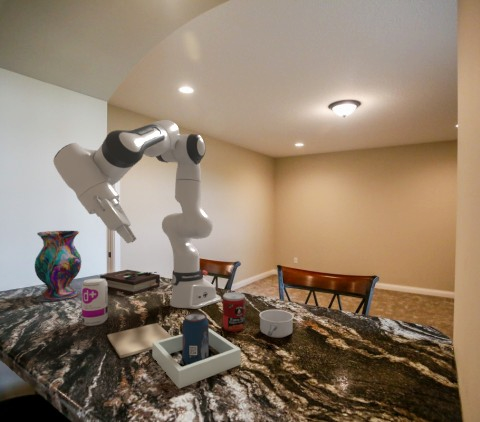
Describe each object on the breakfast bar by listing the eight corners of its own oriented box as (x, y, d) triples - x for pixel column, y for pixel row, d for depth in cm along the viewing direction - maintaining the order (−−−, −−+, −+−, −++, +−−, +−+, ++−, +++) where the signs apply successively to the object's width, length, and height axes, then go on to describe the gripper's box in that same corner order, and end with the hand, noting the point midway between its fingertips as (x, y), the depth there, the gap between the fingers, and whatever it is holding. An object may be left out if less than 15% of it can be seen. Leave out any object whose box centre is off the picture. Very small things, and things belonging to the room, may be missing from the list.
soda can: (185, 353, 81) (185, 311, 81) (210, 354, 81) (210, 311, 81) (179, 367, 74) (179, 320, 74) (206, 368, 74) (206, 321, 74)
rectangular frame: (207, 340, 89) (207, 327, 89) (240, 364, 75) (240, 349, 75) (152, 356, 79) (152, 342, 79) (178, 388, 65) (179, 371, 65)
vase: (89, 294, 136) (89, 231, 136) (46, 305, 121) (46, 234, 121) (68, 288, 146) (68, 229, 146) (27, 298, 131) (26, 232, 130)
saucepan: (249, 350, 83) (249, 331, 83) (262, 323, 103) (262, 308, 103) (289, 355, 80) (289, 335, 80) (295, 327, 100) (295, 311, 100)
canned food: (228, 333, 94) (228, 300, 94) (219, 325, 101) (219, 293, 101) (249, 329, 98) (249, 297, 97) (238, 321, 105) (238, 291, 105)
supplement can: (97, 327, 99) (97, 283, 99) (76, 325, 100) (76, 282, 100) (112, 318, 107) (112, 278, 107) (92, 316, 108) (92, 277, 108)
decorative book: (126, 267, 165) (164, 273, 151) (126, 280, 165) (164, 287, 151) (95, 273, 149) (135, 281, 134) (95, 288, 149) (135, 297, 134)
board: (156, 325, 101) (156, 323, 101) (175, 342, 88) (175, 339, 88) (107, 337, 91) (107, 334, 91) (120, 358, 78) (120, 355, 78)
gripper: (104, 187, 68) (140, 234, 69) (117, 197, 87) (144, 234, 88) (79, 202, 66) (116, 250, 67) (98, 209, 86) (126, 246, 87)
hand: (132, 241), depth 78 cm, fingers open, 8 cm apart
